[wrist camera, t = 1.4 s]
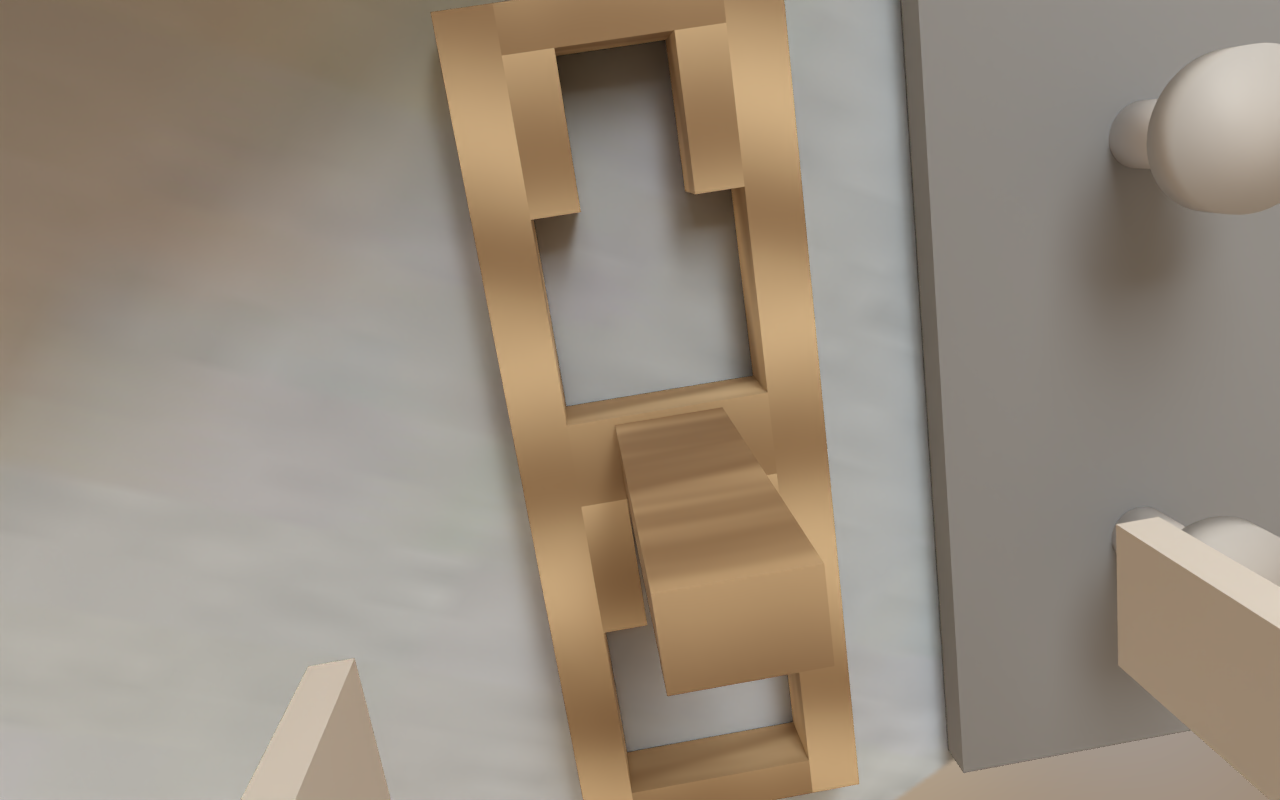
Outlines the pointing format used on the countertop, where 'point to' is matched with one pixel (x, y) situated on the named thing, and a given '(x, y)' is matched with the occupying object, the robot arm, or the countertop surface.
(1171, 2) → the board
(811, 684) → the ball track frame
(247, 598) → the countertop surface
